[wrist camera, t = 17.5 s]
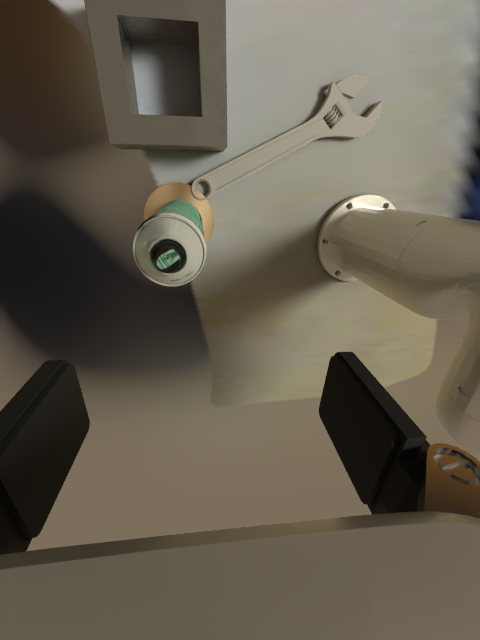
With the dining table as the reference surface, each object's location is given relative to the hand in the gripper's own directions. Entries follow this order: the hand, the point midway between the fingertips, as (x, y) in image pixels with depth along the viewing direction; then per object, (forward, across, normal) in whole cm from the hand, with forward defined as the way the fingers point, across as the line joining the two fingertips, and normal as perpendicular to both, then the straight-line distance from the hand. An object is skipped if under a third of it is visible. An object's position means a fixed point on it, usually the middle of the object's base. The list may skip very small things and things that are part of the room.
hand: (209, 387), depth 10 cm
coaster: (+31, +4, -2) cm, 31 cm away
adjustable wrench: (+32, -9, -12) cm, 36 cm away
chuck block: (+31, +4, -16) cm, 35 cm away
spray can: (+31, +3, -2) cm, 31 cm away
